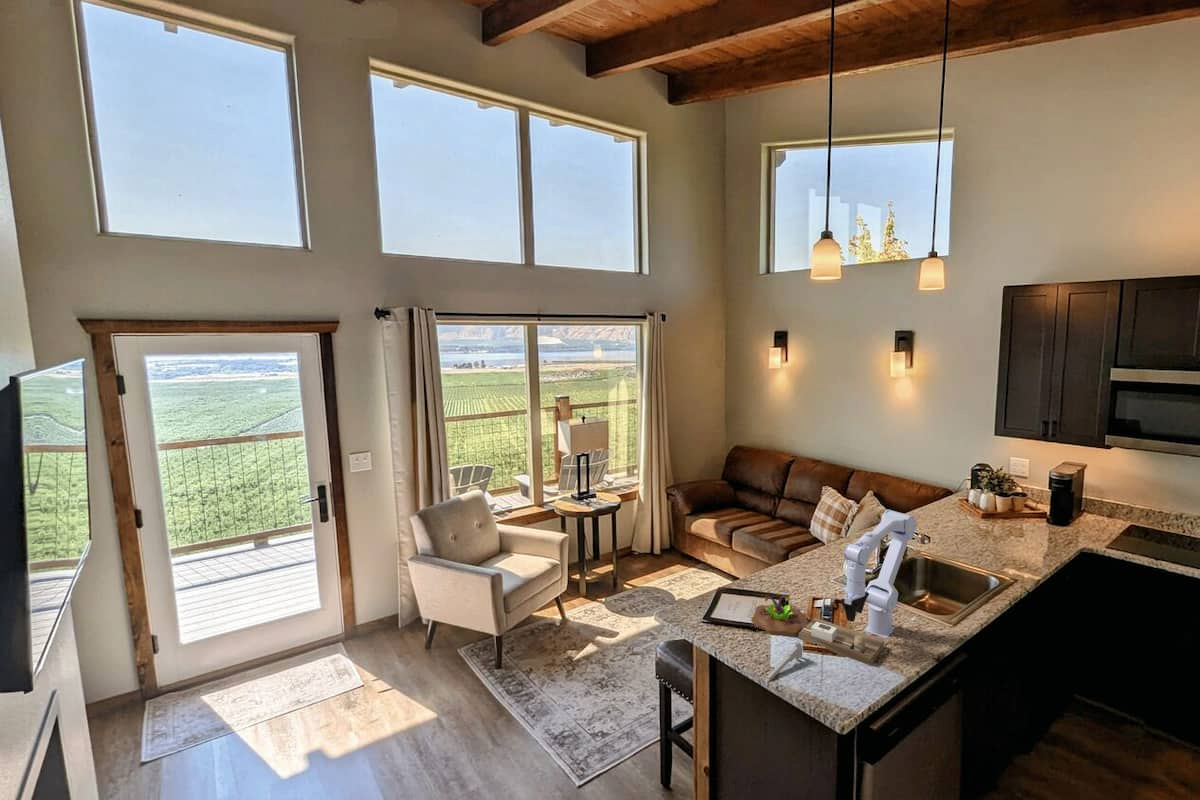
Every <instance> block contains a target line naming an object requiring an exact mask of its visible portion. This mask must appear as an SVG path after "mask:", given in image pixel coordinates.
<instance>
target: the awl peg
mask: <svg viewBox="0 0 1200 800" xmlns="http://www.w3.org/2000/svg"><path fill="white" fill-rule="evenodd" d="M854 650H856V651H859V652H861V653H864V652H865V638H864V637H862V636H855V637H854Z"/></svg>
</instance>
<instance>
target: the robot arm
mask: <svg viewBox="0 0 1200 800" xmlns="http://www.w3.org/2000/svg"><path fill="white" fill-rule="evenodd" d="M917 525H918V523H917V519H916V517H915V516H914V515H909V514H906V513H903V512H900V511H899V512H898V511H895V510H892V509H889V508H888V509H886V510H885V511H884V512H883V513H882V515H881V519H880V522H879V524H877V526H876V527H875V528H874V529H873V530H872V531H866V532H865V533H864V534H863V535H862V536H861V537H860V538H859V539H858V540H856V541H855V542H854V543H848V544H847V545H846V546H845V548H844V551H843V557H844V559H845V564H846V586H844V587H843V588H842V591H843V592H845V597H844V598H842V599H841V600H840V601H841V602H840V603H841V605H842V607H843V609H844V612H845V616H846V619H847V621H850V622H852V623H854V622H855V619H856V614H857V613H859V614H862V613H863V610H864V607H865V604H866V606H867V607H868V613H867V615H868V617H867V625H866V626H865V628H864V629H863V631H864V632H867V633H871V634H873V635H874V634H875V635H876V636H880V637H883V638H886V639H887V638H888V637H890V635H891V634H892V632H893V631H894V630H895V629H896V627H895V626H893V616H894V615H893V612H894V610H895V609H896V608H897V606H898V597H899V592H898V590H897V589H896V587H895V586H894V583H895V580H896V577H897V574H898V571H899V569H900V566H901V563H902V560H903V557H904V554H905V551H906V549H907V546H908V543H909V541H912V540H913V538H914V536H915V533H916V529H917ZM888 535H890V536H891V541H890V543H889V546H888V549H887V551H886V555H885V557H884V560H883V563H882V565H881V569H880V571H879V574H878V577H877V578H875V579H873V580H870V581H869V582H868V584H867V586H866V567H867V566H866V565H867V564H868V562H869V561H870V558H871V556H872V553H873V552H875V550H876V549H878V548H879V546H881V540H882V539H883V538H885V537H886V536H888Z"/></svg>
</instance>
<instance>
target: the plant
mask: <svg viewBox="0 0 1200 800" xmlns="http://www.w3.org/2000/svg"><path fill="white" fill-rule="evenodd" d="M783 598H784V600H785V601H786V602H789V601H790V597H788V596H787V595H782V596H780V598H779V599H778V602H777V601H776V599H774V598H773V597H771V596H765V597H764V599H763V600H764V601H765V602H767V601H768V600H769V599H770V600H771V601H772V602H771V604H768V605H764V604H761V605H758V606H756V607H755V610H754V613H753V616H752V617H751V621H752V622H753V624H754V625H756V627H757V628H759V629H762V630H761V631H763V630H765V631H764V632H766V633H767V634H770V635H774V636H784V637H791V638H796V637H799V632H800V631H801V630H802V629H803V628H804V627H805V626H807V625H808V624H809V620H808V619H807V616H806V615H807V614H806V613H804V612H802V611H799V610H797V609H794V608H793V607H791V604H786V605H785V606H782V600H783ZM751 621H750V622H751ZM752 622H751V623H752ZM753 624H752V625H753ZM756 627H755V628H756Z"/></svg>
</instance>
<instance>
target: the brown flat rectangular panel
mask: <svg viewBox="0 0 1200 800" xmlns="http://www.w3.org/2000/svg"><path fill="white" fill-rule="evenodd" d="M816 622H819V623H823V624H826V625H829V626H832V627H835V628H837V636H836V638H835V639H834V640H833V641H832V642H829V641H826V640H823V639H820V638H817V637H814V636H811V627H812V626H813V625H814V624H815V623H816ZM855 636H862V637H864V638H865V652H864V653H861V652H859V651H856V650H854V637H855ZM798 640H801V641H803V642H806V643H808V642H809V644H811V643H813V644H812V645H814V644H817V645H820V646H823V647H825V648H827V649H829V650H828V651H830V650H831V651H830V652H832V651H833V652H832V653H835V654H838V655H840V656H843V657H846V658H849V659H851V660H854V661H857V662H860V663H863V664H864V665H867V666H872V664H873V663H874V662H875V661H876V660H877V658H878V657H879V655H880V654H881V652H882V651H883V650H884V649H885V640H884V639H880V638H877V637H875V636H871V635H869V634H865V633H862V632H861V631H860V632H859V631H857V630H854V629H851V628H848V627H844V626H841V625H838V624H836V623H832V622H829V621H827V620H823V619H821V618H817V617H813V619H812V620H811V621H810V622H808V625H807V626H805V627H804V628H803V629H802V630H801V631H800V632H799V635H798ZM827 649H826V650H827Z"/></svg>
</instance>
